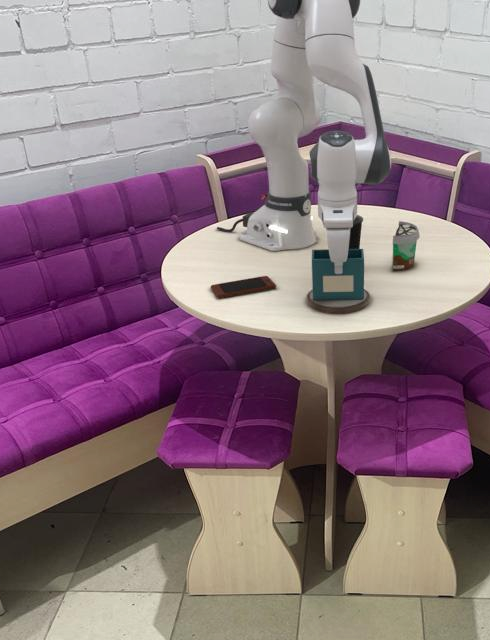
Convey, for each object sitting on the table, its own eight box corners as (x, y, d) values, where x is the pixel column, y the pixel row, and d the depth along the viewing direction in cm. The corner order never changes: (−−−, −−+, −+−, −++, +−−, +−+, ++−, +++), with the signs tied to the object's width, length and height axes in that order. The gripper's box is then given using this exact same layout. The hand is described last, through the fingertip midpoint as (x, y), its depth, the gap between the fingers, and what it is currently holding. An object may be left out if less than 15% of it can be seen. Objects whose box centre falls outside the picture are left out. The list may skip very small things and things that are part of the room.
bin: (313, 288, 181) (312, 249, 176) (362, 287, 181) (363, 248, 176) (312, 300, 175) (311, 259, 170) (363, 299, 175) (364, 259, 170)
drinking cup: (348, 261, 201) (347, 187, 190) (368, 269, 196) (369, 193, 186) (327, 269, 196) (326, 194, 186) (348, 277, 191) (348, 200, 181)
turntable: (294, 305, 177) (294, 299, 176) (328, 283, 188) (328, 277, 187) (349, 319, 170) (349, 313, 170) (380, 295, 181) (380, 289, 180)
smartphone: (276, 284, 185) (217, 295, 180) (276, 288, 185) (217, 298, 180) (267, 274, 190) (209, 284, 186) (267, 278, 191) (210, 288, 186)
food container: (415, 275, 192) (417, 237, 187) (391, 273, 193) (392, 236, 188) (420, 257, 202) (422, 221, 197) (398, 256, 203) (399, 220, 198)
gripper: (323, 195, 177) (324, 250, 184) (323, 223, 159) (324, 283, 166) (350, 194, 177) (350, 250, 184) (353, 222, 159) (353, 283, 166)
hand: (338, 266), depth 175 cm, fingers closed on bin, 6 cm apart
